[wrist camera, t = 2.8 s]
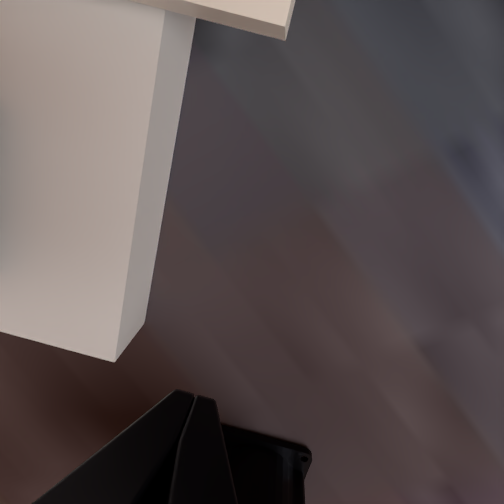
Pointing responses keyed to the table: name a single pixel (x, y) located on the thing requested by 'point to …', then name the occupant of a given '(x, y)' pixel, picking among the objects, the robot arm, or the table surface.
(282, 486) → the robot arm
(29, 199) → the white block with cutout
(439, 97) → the table surface
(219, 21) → the cover
